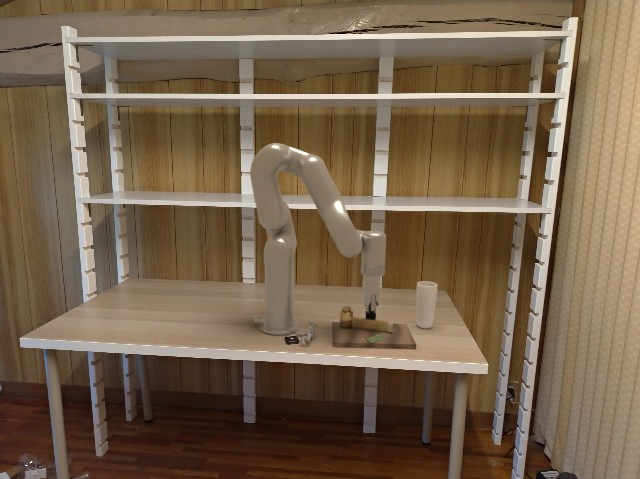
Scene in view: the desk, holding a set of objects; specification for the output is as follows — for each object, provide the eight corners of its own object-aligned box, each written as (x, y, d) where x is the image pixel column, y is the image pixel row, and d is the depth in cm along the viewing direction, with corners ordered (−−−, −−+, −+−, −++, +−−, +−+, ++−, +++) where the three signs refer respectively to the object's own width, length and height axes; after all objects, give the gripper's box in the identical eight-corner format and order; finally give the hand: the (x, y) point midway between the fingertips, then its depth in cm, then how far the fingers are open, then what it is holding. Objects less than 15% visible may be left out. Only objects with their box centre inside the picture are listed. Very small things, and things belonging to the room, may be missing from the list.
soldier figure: (291, 348, 141) (295, 322, 151) (303, 357, 142) (306, 331, 153) (309, 334, 138) (312, 309, 148) (321, 343, 139) (323, 318, 150)
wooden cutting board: (332, 347, 140) (333, 341, 139) (332, 326, 156) (332, 321, 156) (416, 349, 139) (416, 343, 139) (406, 327, 156) (406, 323, 156)
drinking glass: (420, 321, 163) (422, 279, 160) (438, 325, 158) (441, 283, 156) (410, 326, 157) (413, 283, 155) (429, 331, 153) (432, 287, 150)
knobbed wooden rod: (337, 327, 151) (338, 309, 149) (341, 322, 155) (342, 304, 154) (391, 334, 145) (392, 316, 144) (394, 329, 149) (395, 311, 148)
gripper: (358, 263, 156) (356, 315, 159) (363, 275, 141) (361, 332, 145) (381, 264, 156) (378, 316, 159) (388, 275, 141) (385, 332, 145)
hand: (370, 323), depth 152 cm, fingers closed
